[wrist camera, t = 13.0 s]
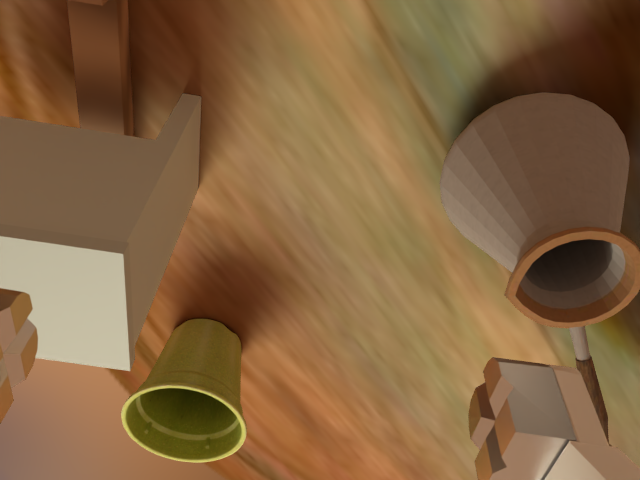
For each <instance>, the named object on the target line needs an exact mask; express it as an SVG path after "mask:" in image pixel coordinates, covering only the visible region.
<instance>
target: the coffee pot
mask: <svg viewBox="0 0 640 480" xmlns="http://www.w3.org/2000/svg"><path fill="white" fill-rule="evenodd" d="M629 160H630V157H629V153H628V149H627V144H626V140H625V136H624V134H623V133H622V131H621V129H620V128H619V126H618V125H617V123H616V122H615V120H614V119H613V117H611V116H610V115H609V114H607V113H606V112H605V111H604V110H602V109H601V108H600V107H598V106H597V105H596V104H594V103H592V102H590V101H587V100H584V99H581V98H579V97H576V96H573V95H570V94H559V93H547V92H541V93H534V94H528V95H522V96H516V97H513V98H511V99H508V100H506V101H503V102H501V103H498V104H496V105H494V106H492V107H490V108H489V109H488V110H486V111H485V112H483V113H482V114H480V115H479V116H477V117H476V118H475V119H473V120H472V121H471V123H470V124H469V125H468V126H467V127H466V128H465V129H464V130H463V131H462V133H461V134H460V135H459V136H458V137H457V138H456V139H455V141H454V143H453V145H452V146H451V148H450V150H449V152H448V154H447V156H446V158H445V160H444V164H443V169H442V174H441V179H440V190H441V200H442V204H443V206H444V208H445V211H446V213H447V215H448V217H449V220H450V221H451V222H452V223H453V225H454V226H455V227H456V228H457V229H458V230H459V231H460V232H461V234H462V235H463V236H465V237H466V238H467V239H469V240H470V241H471V242H472V243H474V244H475V245H476V246H478V247H479V248H480V249H482V250H483V251H484V252H486V253H487V254H488V255H490V256H491V257H492V258H494V259H495V260H496V261H498V262H499V263H500V264H502V265H503V266H504V267H506V268H507V269H508V270H509V271H511V272H512V274H511V277H510V279H509V282H508V285H507V288H506V291H505V296H506V297H507V298H508V299H509V301H510V302H511V303H512V304H513V305H514V306H515V307H516V308H517V309H518V310H519V311H520V312H522V313H523V314H524V315H525V316H527V317H528V318H530V319H532V320H533V321H535V322H537V323H540V324H543V325H547V326H550V327H559V328H569V329H570V333H571V337H572V341H573V345H574V350H575V354H576V365H577V370H578V371H579V372H580V373H581V375H582V378H583V381H584V383H585V386H586V388H587V391H588V393H589V396H590V398H591V401H592V403H593V406H594V409H595V411H596V414H597V416H598V419H599V421H600V424H601V426H602V429H603V432H604V434H605V437H606V439H607V442H608V444H609V440H608V416H607V412H606V408H605V405H604V401H603V397H602V394H601V390H600V386H599V383H598V379H597V375H596V372H595V368H594V364H593V361H592V357H591V356H590V353H589V348H588V342H587V337H586V331H585V326H586V325H590V324H594V323H597V322H600V321H602V320H604V319H606V318H608V317H611V316H613V315H615V314H616V313H617V312H619V311H620V310H621V309H623V308H624V307H625V306H627V305H628V304H629V303H630V301H631V300H632V299H633V298H634V297H635V296H636V295H637V293H638V291H639V289H640V250H639V248H638V247H637V245H636V244H635V243H634V242H633V241H631V240H630V239H629V238H627V237H626V236H624V235H623V234H621V233H620V227H621V220H622V213H623V206H624V199H625V192H626V186H627V179H628V169H629ZM609 446H611V445H610V444H609Z"/></svg>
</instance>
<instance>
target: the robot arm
mask: <svg viewBox="0 0 640 480" xmlns="http://www.w3.org/2000/svg"><path fill="white" fill-rule="evenodd" d="M32 309H33V307H32V303H31V299H30V295H29V294H27V293H25V292H21V291H15V290H9V289H3V288H0V424H1V421H2V420H3V418H4V417H5V415H6V413H7V411H8V410H9V408H10V406H11V404H12V402H13V401H14V399H13V395H12V390H11V388H12V387H14V386H16V385H17V384H19V383H21V382H22V381H24V380H26V378H27V376H28V374H29V372H30V370H31V368H32V366H33V363H34V360H35V357H36V353H37V349H38V334H37V328H36V326H35V325H34V324H33V323H32V322H30V321H29V320H28V319H27V318H28V316H29V314H30V313H31V311H32ZM483 373H484V378H485V383H483V384H482V385H480V386H478V387H476V389H475V391H474V394H473V396H472V399H471V402H470V409H469V431H470V437H471V440H472V441H473V442H474V444H475V445H476V446H477V447H478V448H479V449H480V451H479V453H478V455H477V458H476V460H475V466H476V472H477V477H478V480H640V468H639V467H638V466H637V465H636V464H635V463H634V462H632V461H631V460H630V459H629V458H628V457H627V456H626V455H625V454H624V453H623V452H622V451H621V450H620V449H619V448H618V447H612V446H609V444H608V442H607V439H606V437H605V434H604V432H603V429H602V426H601V424H600V421H599V419H598V416H597V414H596V411H595V409H594V406H593V403H592V401H591V398H590V396H589V393H588V391H587V388H586V386H585V383H584V381H583V378H582V375H581V373H580V372H579V371H578V370H577V369H576V368H571V367H563V366H556V365H545V364H540V363H532V362H525V361H517V360H509V359H502V358H494V357H492V358H491V359H490V360H489V361H488V363H487V365H486V367H485V369H484V371H483Z"/></svg>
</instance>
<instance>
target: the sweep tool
mask: <svg viewBox="0 0 640 480" xmlns="http://www.w3.org/2000/svg"><path fill="white" fill-rule="evenodd" d="M67 8H68V17H69V26H70V36H71V45H72V55H73V64H74V74H75V83H76V93H77V102H78V112H79V121H80V128H81V129H88V130H94V131H100V132H107V133H113V134H120V135H126V136H133V137H134V119H133V98H132V78H131V57H130V36H129V15H128V0H67Z"/></svg>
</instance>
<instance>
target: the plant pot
mask: <svg viewBox="0 0 640 480" xmlns="http://www.w3.org/2000/svg"><path fill="white" fill-rule="evenodd" d="M240 376H241V342H240V339H239V338H238V336H237V335H236V334H235V333H232V332H231V331H230V330H229V329H228V328H227V327H226V326H225V325H224V324H222V323H220V322H217V321H214V320H209V319H192V320H188V321H186V322H184V323H183V324H182V325H180V326H179V327H177V328H175V329H174V331H173V332H172V334H171V336H170V338H169V340H168V341H167V343H166V345H165V347H164V349H163V351H162V352H161V354H160V356H159V358H158V360H157V362H156V363H155V365H154V367H153V369H152V371H151V373H150V374H149V376H148V378H147V380H146V381H145V382H144V383H143V384H142V385H141V386H140V387H139V389H138V390H137V391H136V392H134V393H133V394H132V395H131V396H130V397H129V398H128V399H127V400H126V402H125V404H124V406H123V408H122V413H121V418H122V423H123V426H124V428H125V430H126V431H127V433H128V434H129V436H130V437H131V438H132V439H133V440H134V441H135V442H137V443H138V444H139V445H140V446H142V447H143V448H145V449H147V450H148V451H150V452H152V453H154V454H157V455H159V456H162V457H165V458H169V459H172V460H177V461H184V462H209V461H215V460H219V459H222V458H224V457H227V456H229V455H231V454H233V453H234V452H236V451H237V450H238V449H239V448H240V447H241V446H242V444H243V443H244V441H245V438H246V433H247V427H246V422H245V419H244V417H243V412H242V407H241V404H240Z"/></svg>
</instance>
